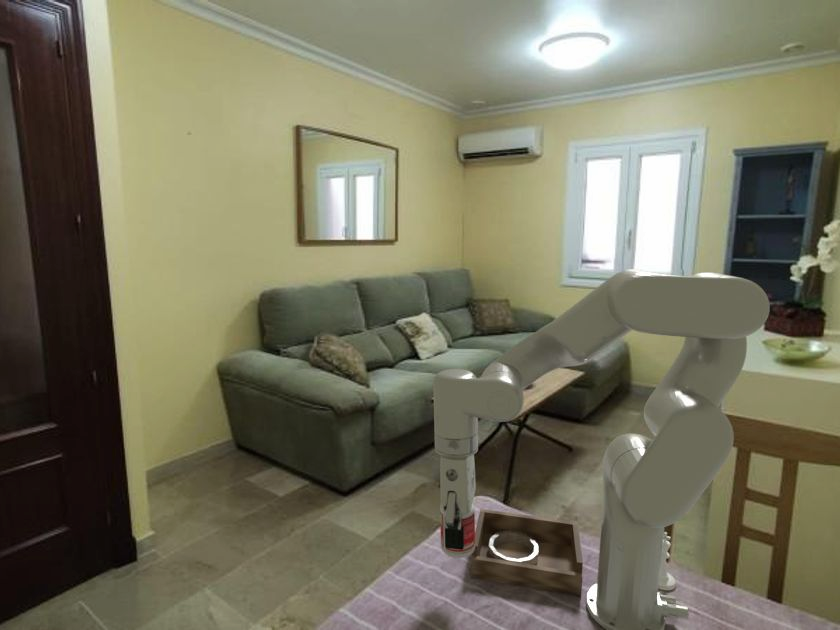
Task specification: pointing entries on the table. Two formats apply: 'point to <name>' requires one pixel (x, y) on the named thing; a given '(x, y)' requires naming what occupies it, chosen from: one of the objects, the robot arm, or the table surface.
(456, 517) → the pill bottle
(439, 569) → the table surface
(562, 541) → the walled box
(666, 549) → the chess piece
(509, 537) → the collar
